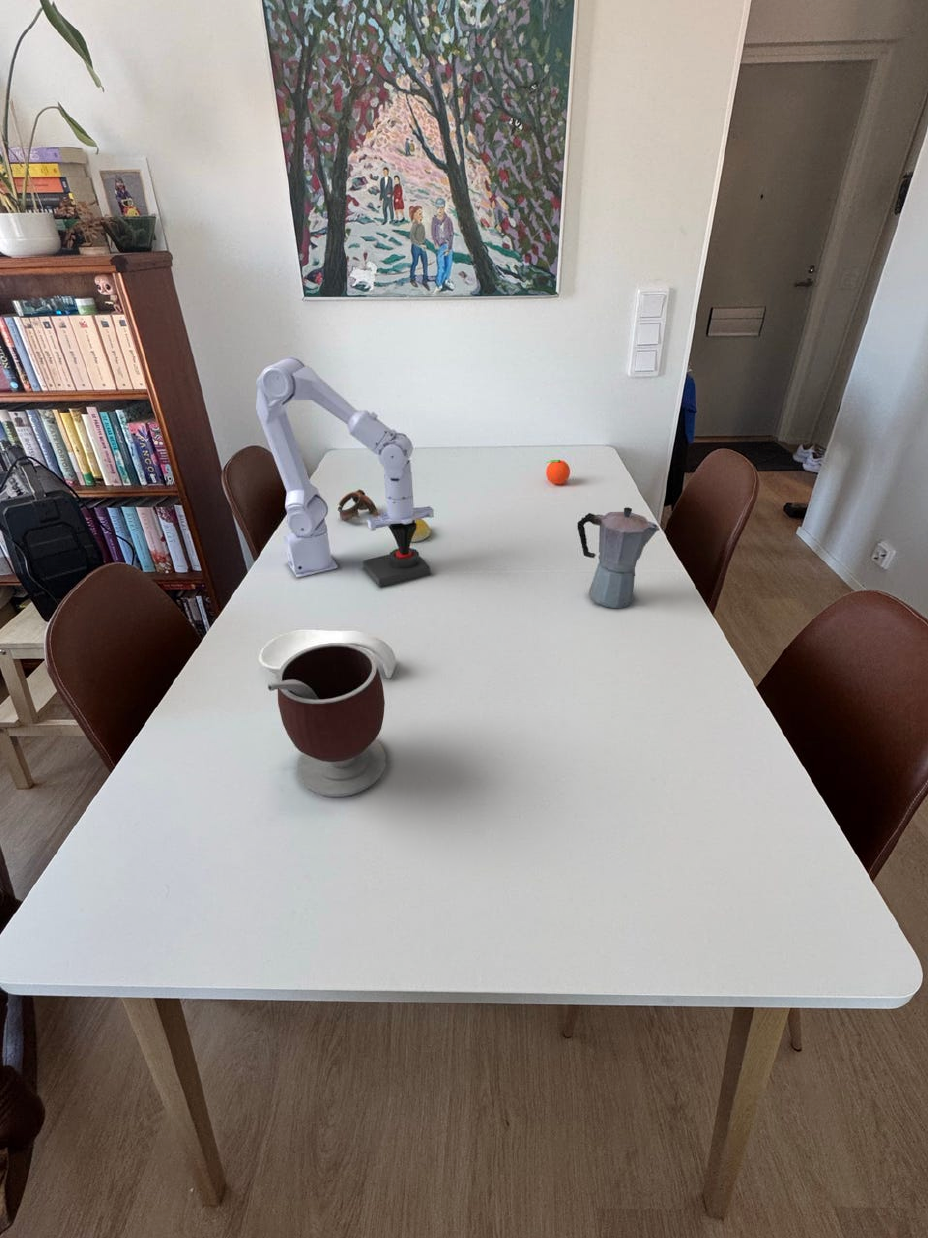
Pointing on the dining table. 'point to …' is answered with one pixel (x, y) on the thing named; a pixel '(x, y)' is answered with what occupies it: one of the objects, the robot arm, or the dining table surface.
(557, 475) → the clementine
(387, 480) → the robot arm
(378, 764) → the mate gourd
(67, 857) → the dining table surface
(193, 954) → the dining table surface
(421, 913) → the dining table surface
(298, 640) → the spoon rest
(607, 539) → the moka pot
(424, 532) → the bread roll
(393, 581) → the push button base
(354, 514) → the brown looped frame
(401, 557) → the power button
